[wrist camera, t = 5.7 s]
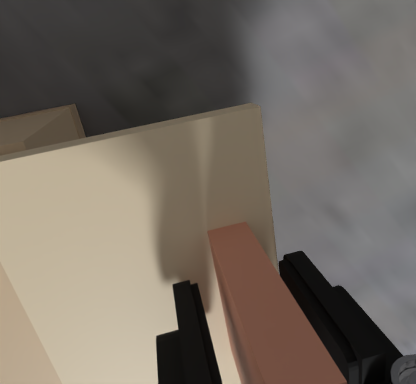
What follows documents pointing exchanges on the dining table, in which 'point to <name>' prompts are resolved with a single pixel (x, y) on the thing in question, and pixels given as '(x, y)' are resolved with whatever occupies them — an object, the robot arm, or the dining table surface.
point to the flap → (154, 251)
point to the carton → (3, 290)
